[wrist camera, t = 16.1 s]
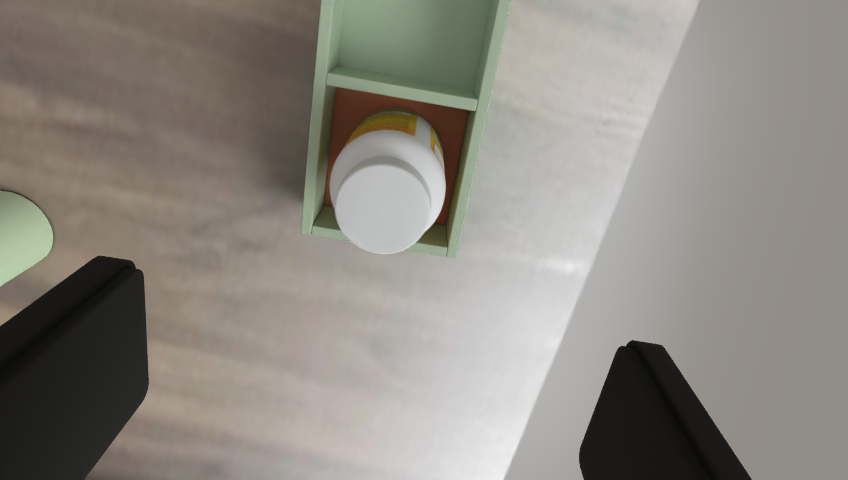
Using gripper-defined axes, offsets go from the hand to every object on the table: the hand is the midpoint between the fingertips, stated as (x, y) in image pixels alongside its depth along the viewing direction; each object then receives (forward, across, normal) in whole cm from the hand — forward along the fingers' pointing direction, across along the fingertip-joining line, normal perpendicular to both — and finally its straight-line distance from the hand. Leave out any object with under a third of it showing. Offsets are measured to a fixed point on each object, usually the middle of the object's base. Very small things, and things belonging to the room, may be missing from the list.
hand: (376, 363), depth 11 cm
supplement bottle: (+22, +1, +2) cm, 22 cm away
